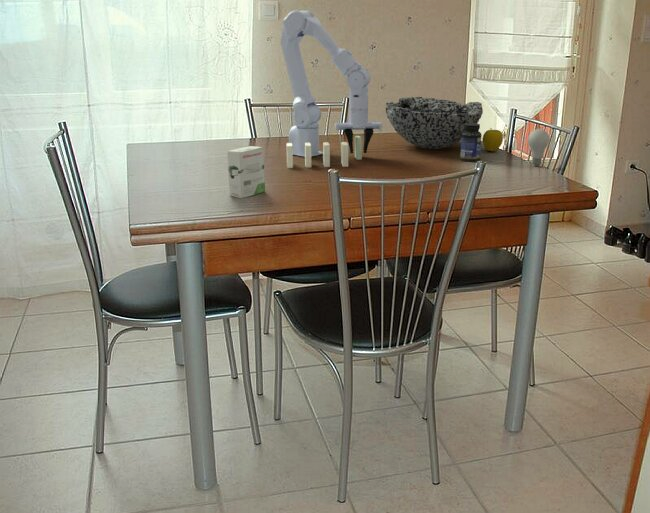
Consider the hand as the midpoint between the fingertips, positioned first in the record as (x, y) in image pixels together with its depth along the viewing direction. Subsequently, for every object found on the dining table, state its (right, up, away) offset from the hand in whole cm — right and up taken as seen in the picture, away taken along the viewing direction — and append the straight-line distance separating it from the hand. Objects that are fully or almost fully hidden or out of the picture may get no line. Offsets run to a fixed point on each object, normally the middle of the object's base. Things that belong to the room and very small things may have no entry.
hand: (358, 152), depth 228 cm
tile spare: (0, -2, +1) cm, 2 cm away
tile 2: (-16, -5, -10) cm, 19 cm away
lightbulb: (+52, -6, -13) cm, 54 cm away
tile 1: (-21, -5, -10) cm, 24 cm away
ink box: (-30, -17, -42) cm, 54 cm away
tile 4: (-5, -5, -9) cm, 11 cm away
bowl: (+26, +4, +16) cm, 30 cm away
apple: (+44, +1, +9) cm, 45 cm away
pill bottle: (+34, -3, -4) cm, 35 cm away
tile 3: (-10, -5, -10) cm, 15 cm away
